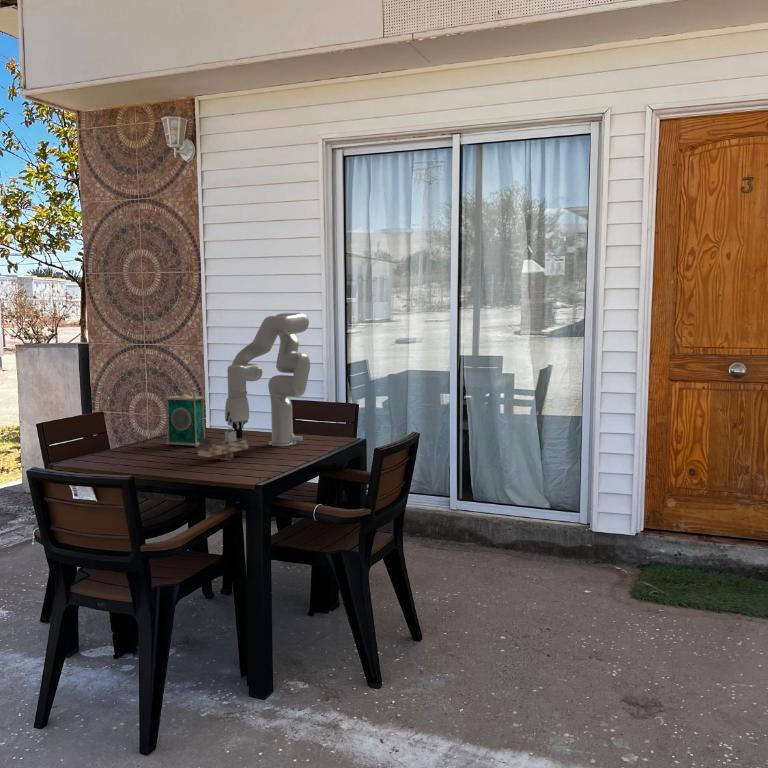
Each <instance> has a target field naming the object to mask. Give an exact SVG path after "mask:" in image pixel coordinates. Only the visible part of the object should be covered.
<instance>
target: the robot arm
mask: <svg viewBox="0 0 768 768" xmlns="http://www.w3.org/2000/svg"><path fill="white" fill-rule="evenodd" d="M309 324H310V321H309V318H308V316H307V315H306V314H305V313H301V312H296V313H295V312H294V313H293V312H292V313H291V312H285V313H284V312H283V313H278V314H276V315H269V316H266V317H265V318H264V319H263V321H262V322H261V325H260V326H259V328H258V331H257V332H256V334H255V336H254V338H253V340H252V341H251V342H250V343H249V344H247V345H246V346H244V347H243V349H241V350H240V351H238V353H237V354H236V355H235V357H234V359H233V361H232V363H231V365H229V366H228V367H227V398H226V401H225V408H224V419H225V422H227V426H229V427H230V426H231V427H232V429H233V431H236V439H243V429H244V426H245V425H246V424H248V423H249V419H250V406H249V400H248V397H247V394H248V391H247V382H257V381H258V380H260V379H261V378H262V376H263V369H262V367H261V366H260V365H258V364H256V363H250V362H251V361H252V360H254V359H256V358H258V357H261V356H264V355H265V354H268V353H269V352H270V351H271V350H272V347H273V345H274V344H275V342H276V339H277V338H278V336H279V341H280V342H279V348H278V353H277V357H276V358H277V359H276V364H275V367H276V370H277V371H278V372H279V373H282V374H280V375H279V374H276V375H274V376H272V377H271V378H270V379H269V381H268V383H267V386H268V387H267V388H268V393H269V397H270V405H271V406H270V408H271V409H270V413H271V416H270V417H271V418H270V419H271V420H270V421H271V440H270V441H268V445H269V446H271V445H272V446H271V447H291V446H295V445H297V441H303V436H302V435H295V433H294V429H293V424H294V423H293V404H292V400H291V399H290V398H299V397H302V396H303V395H305V392H306V389H307V385H308V380H309V375H310V369H311V362H310V361H311V360H310V357H309V355H307V354H306V353H304V352H298V351H299V345H300V342H299V340H298V337H297V334H300V333H303V332H305V331H306V330H308V328H309ZM285 374H286V375H285ZM287 374H293V375H287ZM290 445H291V446H290Z"/></svg>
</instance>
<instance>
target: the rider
mask: <svg viewBox="0 0 768 768" xmlns="http://www.w3.org/2000/svg"><path fill="white" fill-rule="evenodd" d="M236 439H237V438H236V431H234V429H233V428H228V429H227V430H226V431H224V442H225V444H229V443H234V442H236Z"/></svg>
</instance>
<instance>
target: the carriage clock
mask: <svg viewBox="0 0 768 768" xmlns="http://www.w3.org/2000/svg"><path fill="white" fill-rule="evenodd" d="M184 381H185V382H186V384H187V385H188V388H187V390H182V389H181V383H182V382H184ZM190 387H191V385H190V383H189V382H188V380H187V379H183V380H180V382H179V384H178V388H179V390H180V391H181V392H182V393H183V394H182V395H177V392H175V391H174V392H173V395H170V396H168V395H169V394H168V393H165V394H164V396H165V397H163V399H164V400H165V411H166V412H165V414H166V416H165V417H166V436H167V437H166V441H165V445H166V446H167V445H179V446H180V445H181V446H194V448H195V447H197V448H198V447H199V438H206V434H205V433H206V432H205V431H206V430H205V429H206V427H205V399H206V397H207V396H204V395H205V393H204V392H202V393H201V396H196V394H193V396H192V395H189V394H186V393H187V392H188V391H189V390H190Z"/></svg>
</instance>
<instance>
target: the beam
mask: <svg viewBox="0 0 768 768" xmlns="http://www.w3.org/2000/svg"><path fill="white" fill-rule="evenodd" d="M248 449H249V440H247V439H242V438H239V439H238V438H236V442H234V443H229V444H225V441H221V442H216V443H213V441H212V438H208V437H205V438H199V445H198V447H197V456H198V457H205V458H210V457H211V458H212V457H214V458H215V459H214V460H217V459H221V460H220V461H223V460H228V461H231V459H233V460H234V453H235V452H238V451H244V450H248Z"/></svg>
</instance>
